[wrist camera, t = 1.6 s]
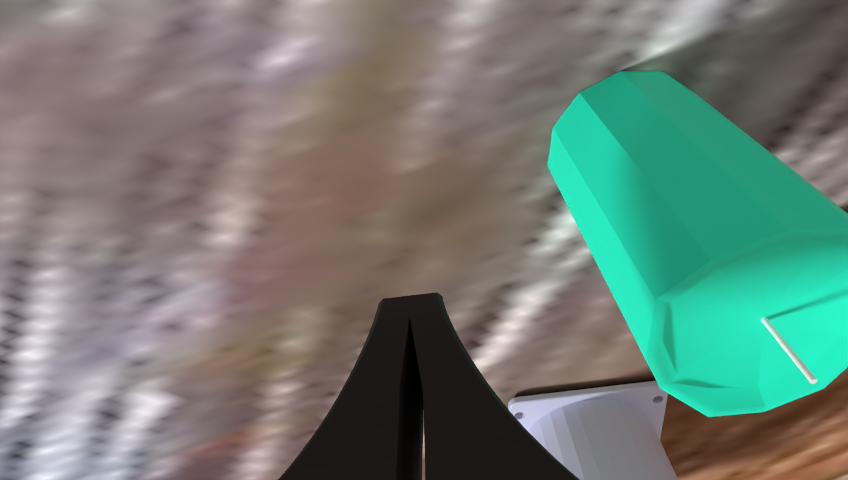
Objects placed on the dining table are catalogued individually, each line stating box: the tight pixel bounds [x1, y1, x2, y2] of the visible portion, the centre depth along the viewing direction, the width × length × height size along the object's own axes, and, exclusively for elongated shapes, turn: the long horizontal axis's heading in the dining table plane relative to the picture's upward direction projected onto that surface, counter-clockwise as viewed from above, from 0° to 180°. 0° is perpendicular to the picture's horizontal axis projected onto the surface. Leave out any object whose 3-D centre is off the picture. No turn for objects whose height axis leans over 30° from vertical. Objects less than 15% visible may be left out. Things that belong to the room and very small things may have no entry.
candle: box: [548, 71, 848, 417], centre depth 18 cm, size 6×6×12 cm
